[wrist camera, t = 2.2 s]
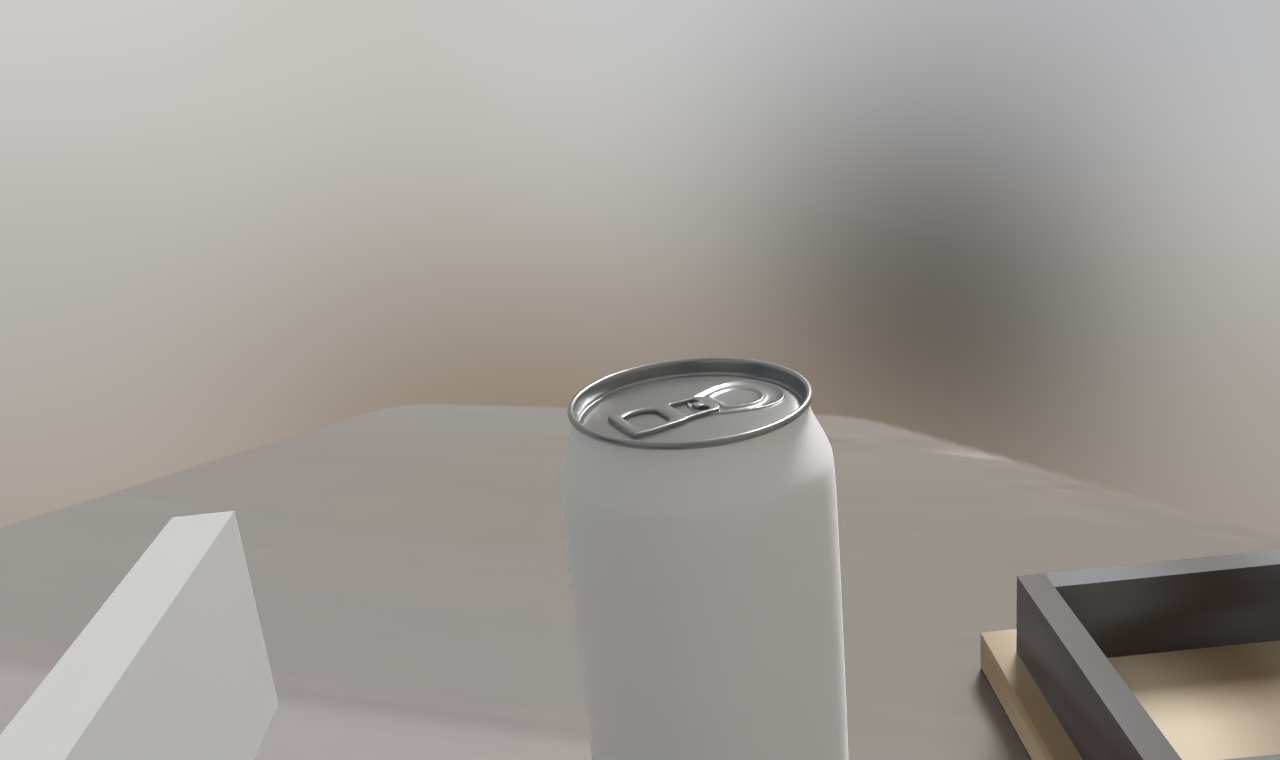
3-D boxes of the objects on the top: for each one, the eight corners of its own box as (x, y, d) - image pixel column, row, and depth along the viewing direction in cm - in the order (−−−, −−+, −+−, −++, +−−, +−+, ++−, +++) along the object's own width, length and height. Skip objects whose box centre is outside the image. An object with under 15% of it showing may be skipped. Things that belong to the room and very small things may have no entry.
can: (904, 851, 30) (891, 400, 26) (676, 960, 28) (624, 478, 24) (764, 723, 36) (736, 334, 32) (563, 803, 33) (506, 391, 29)
